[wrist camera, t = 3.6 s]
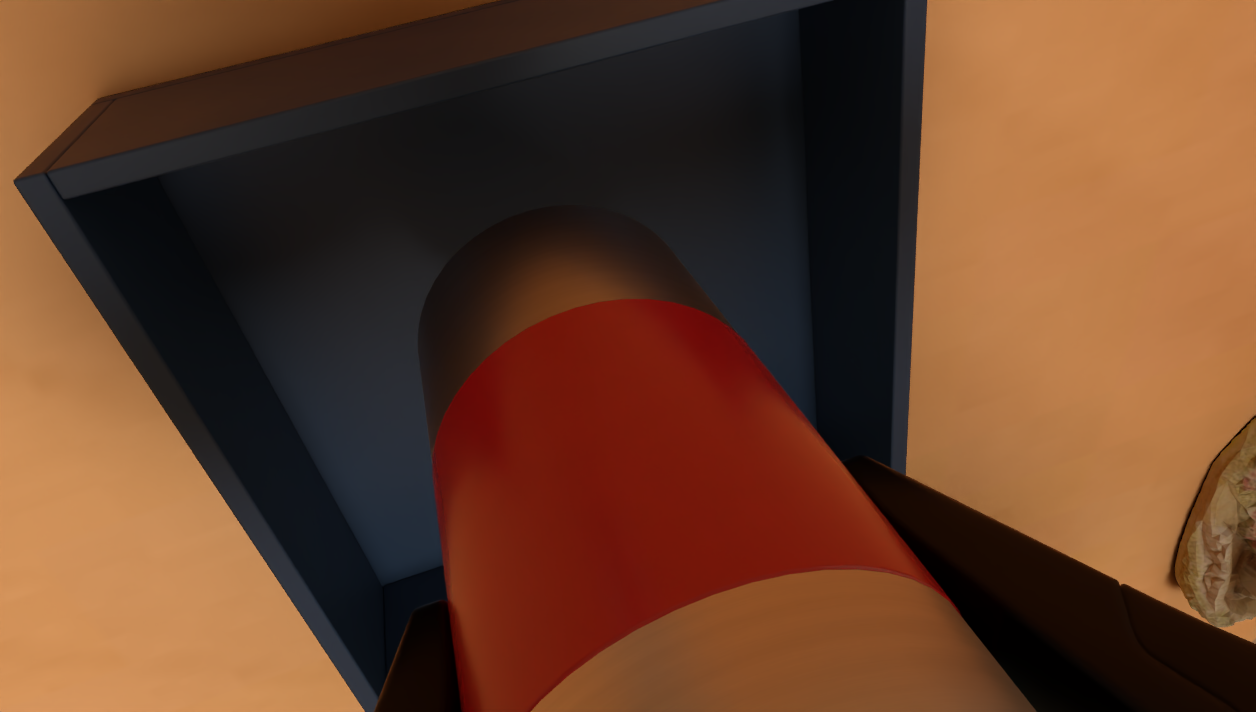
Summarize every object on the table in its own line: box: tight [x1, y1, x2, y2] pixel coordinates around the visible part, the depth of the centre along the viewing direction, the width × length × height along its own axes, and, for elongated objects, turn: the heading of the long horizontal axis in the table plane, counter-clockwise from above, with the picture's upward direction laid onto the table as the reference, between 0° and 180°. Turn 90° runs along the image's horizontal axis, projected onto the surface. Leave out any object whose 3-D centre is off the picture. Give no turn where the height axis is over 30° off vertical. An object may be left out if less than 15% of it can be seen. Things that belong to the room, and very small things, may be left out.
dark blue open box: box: [13, 0, 927, 712], centre depth 20 cm, size 16×16×5 cm
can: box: [418, 205, 1036, 712], centre depth 10 cm, size 5×5×11 cm
